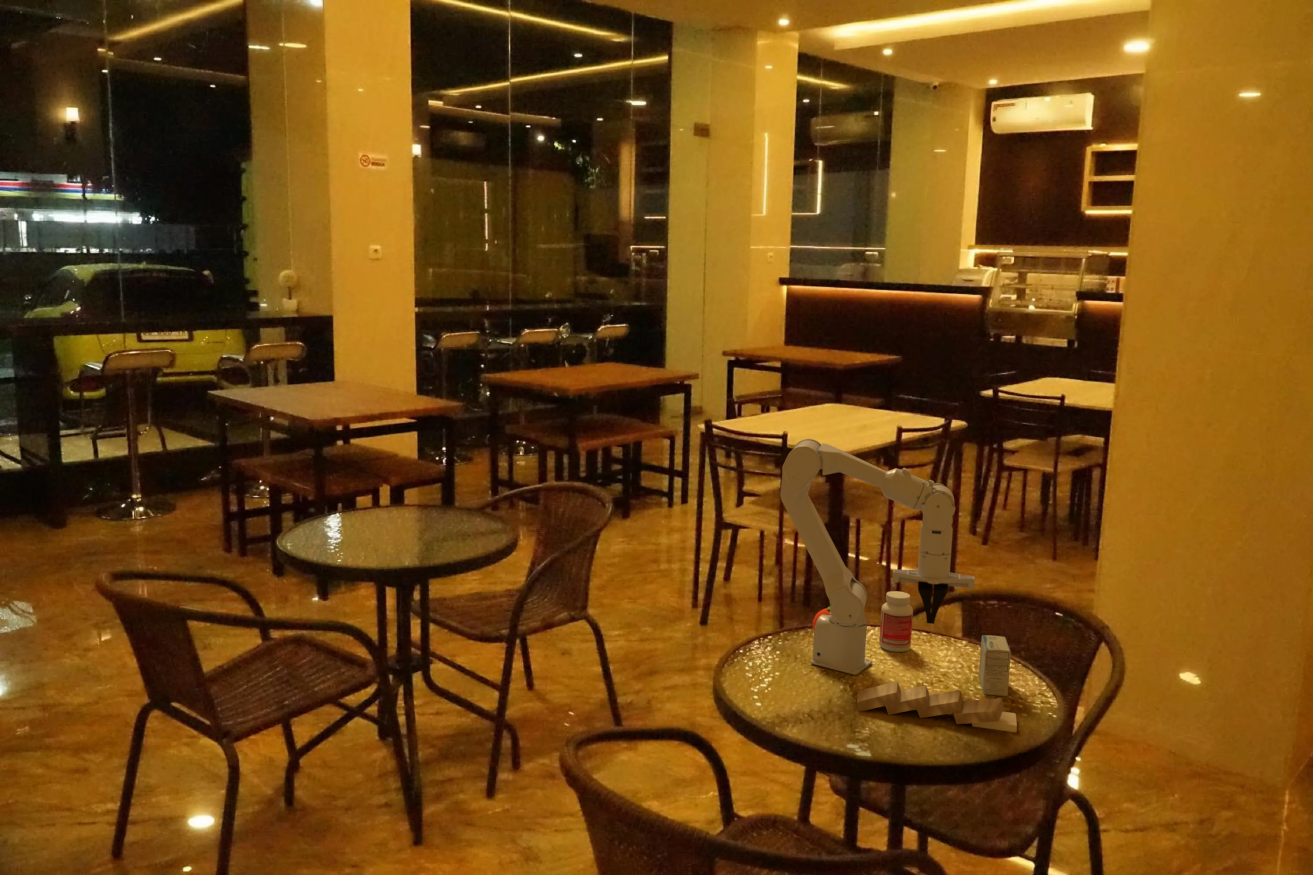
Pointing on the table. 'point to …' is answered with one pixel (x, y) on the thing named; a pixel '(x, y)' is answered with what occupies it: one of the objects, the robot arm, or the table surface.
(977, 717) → the domino
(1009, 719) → the end domino
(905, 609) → the pill bottle
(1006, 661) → the medicine box
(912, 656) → the table surface
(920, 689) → the domino
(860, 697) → the domino
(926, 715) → the domino
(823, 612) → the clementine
